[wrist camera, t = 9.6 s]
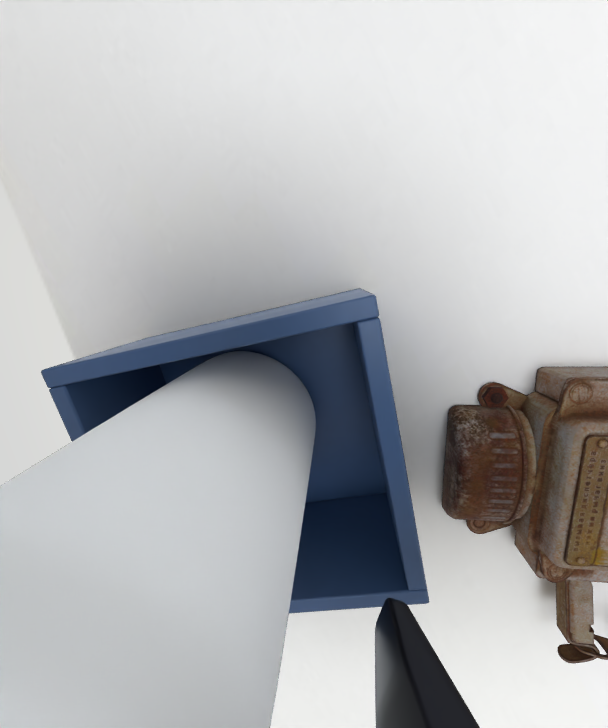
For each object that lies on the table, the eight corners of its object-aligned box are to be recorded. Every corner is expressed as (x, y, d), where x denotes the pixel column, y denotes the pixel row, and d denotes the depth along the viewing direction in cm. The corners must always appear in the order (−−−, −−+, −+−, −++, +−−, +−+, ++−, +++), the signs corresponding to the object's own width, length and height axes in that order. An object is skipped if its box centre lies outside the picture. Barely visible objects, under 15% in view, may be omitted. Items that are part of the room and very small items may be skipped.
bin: (145, 338, 15) (38, 370, 10) (360, 287, 13) (375, 294, 8) (209, 518, 17) (152, 624, 12) (398, 494, 16) (429, 604, 10)
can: (296, 333, 13) (47, 650, 2) (331, 464, 15) (309, 1084, 3) (162, 366, 15) (-502, 696, 3) (208, 485, 16) (-127, 1014, 4)
